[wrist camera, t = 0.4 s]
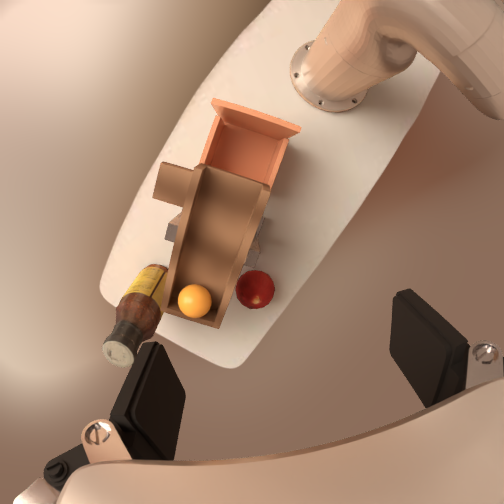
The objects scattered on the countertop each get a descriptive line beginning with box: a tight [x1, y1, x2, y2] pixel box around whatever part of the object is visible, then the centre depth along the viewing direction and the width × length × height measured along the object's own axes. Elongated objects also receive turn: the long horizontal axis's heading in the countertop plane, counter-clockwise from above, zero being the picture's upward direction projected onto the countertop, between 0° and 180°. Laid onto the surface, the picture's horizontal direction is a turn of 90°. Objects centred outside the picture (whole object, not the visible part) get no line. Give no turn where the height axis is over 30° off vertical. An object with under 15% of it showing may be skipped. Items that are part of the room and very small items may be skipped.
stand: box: [165, 209, 265, 268], centre depth 37 cm, size 6×12×12 cm, turn 71°
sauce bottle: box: [102, 264, 168, 367], centre depth 36 cm, size 6×6×20 cm
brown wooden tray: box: [153, 162, 271, 329], centre depth 31 cm, size 18×12×6 cm, turn 161°
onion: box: [236, 270, 275, 309], centre depth 42 cm, size 6×6×8 cm
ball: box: [178, 284, 212, 318], centre depth 32 cm, size 4×4×4 cm
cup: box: [199, 98, 301, 190], centre depth 33 cm, size 9×9×14 cm
